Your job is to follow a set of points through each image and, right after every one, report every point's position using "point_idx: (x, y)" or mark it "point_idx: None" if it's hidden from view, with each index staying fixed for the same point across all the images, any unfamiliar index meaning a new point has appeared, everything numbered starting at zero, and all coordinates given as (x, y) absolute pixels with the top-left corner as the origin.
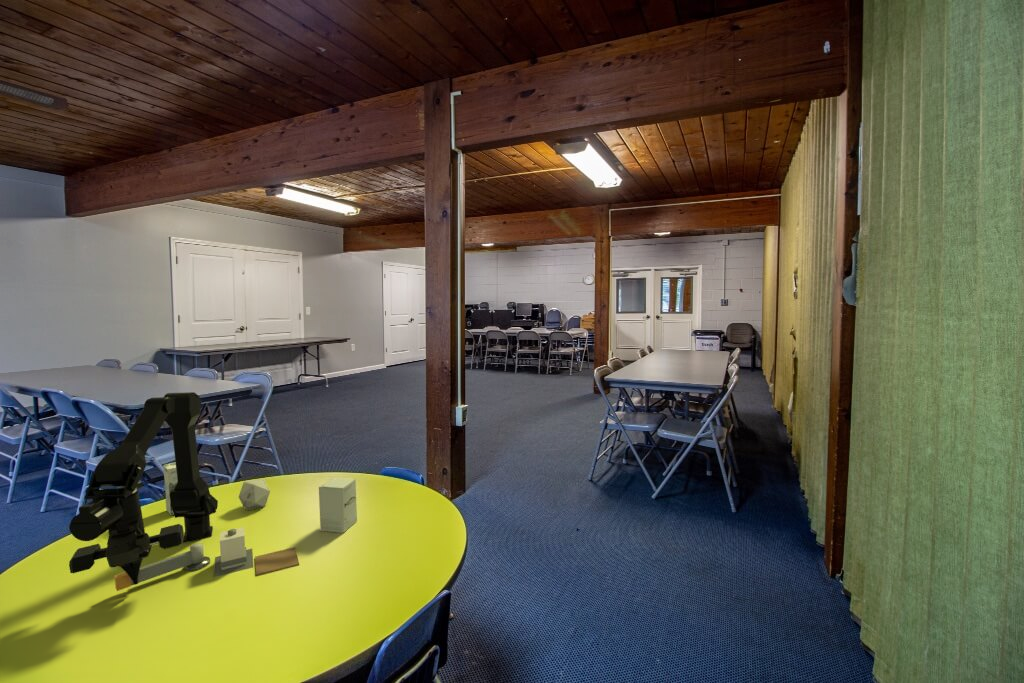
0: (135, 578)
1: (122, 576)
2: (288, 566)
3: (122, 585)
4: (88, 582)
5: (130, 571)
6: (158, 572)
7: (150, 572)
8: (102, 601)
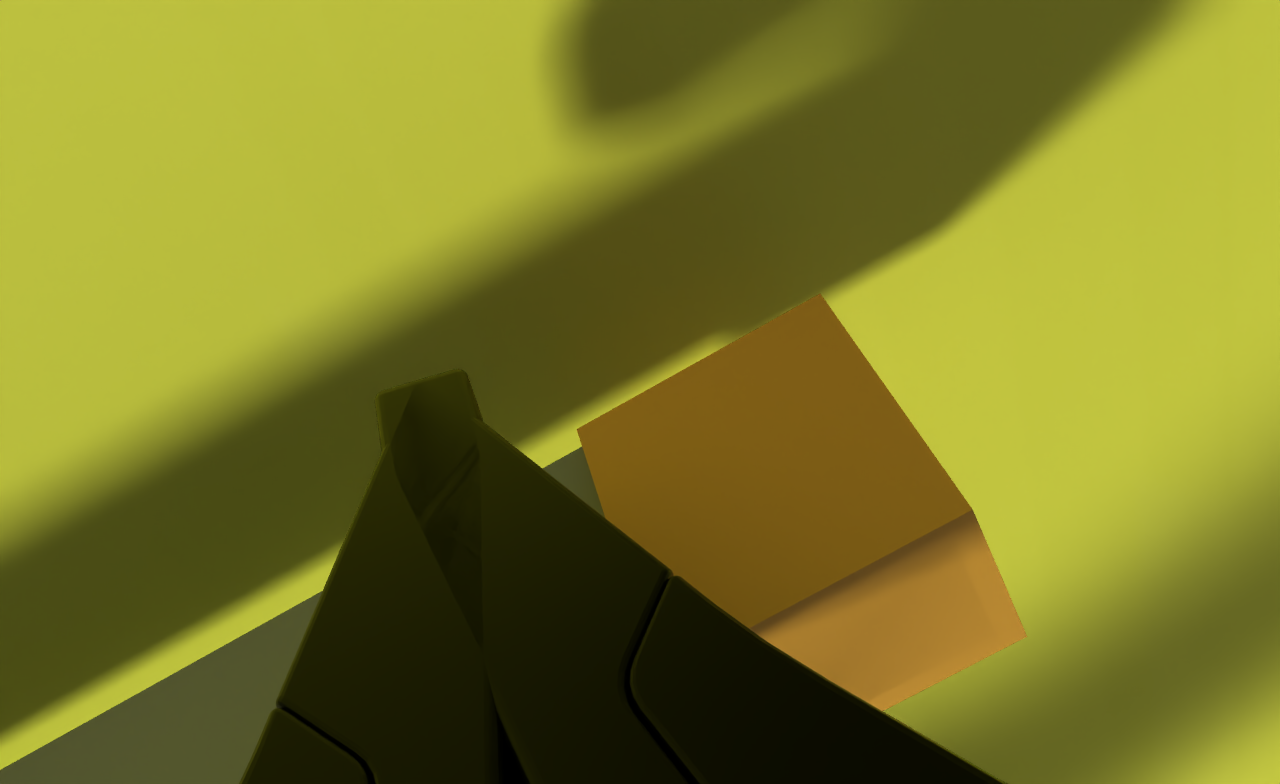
0: (408, 474)
1: (826, 585)
2: None
3: (751, 406)
4: (1232, 692)
5: (571, 652)
6: (109, 776)
7: (246, 762)
8: (1013, 131)
